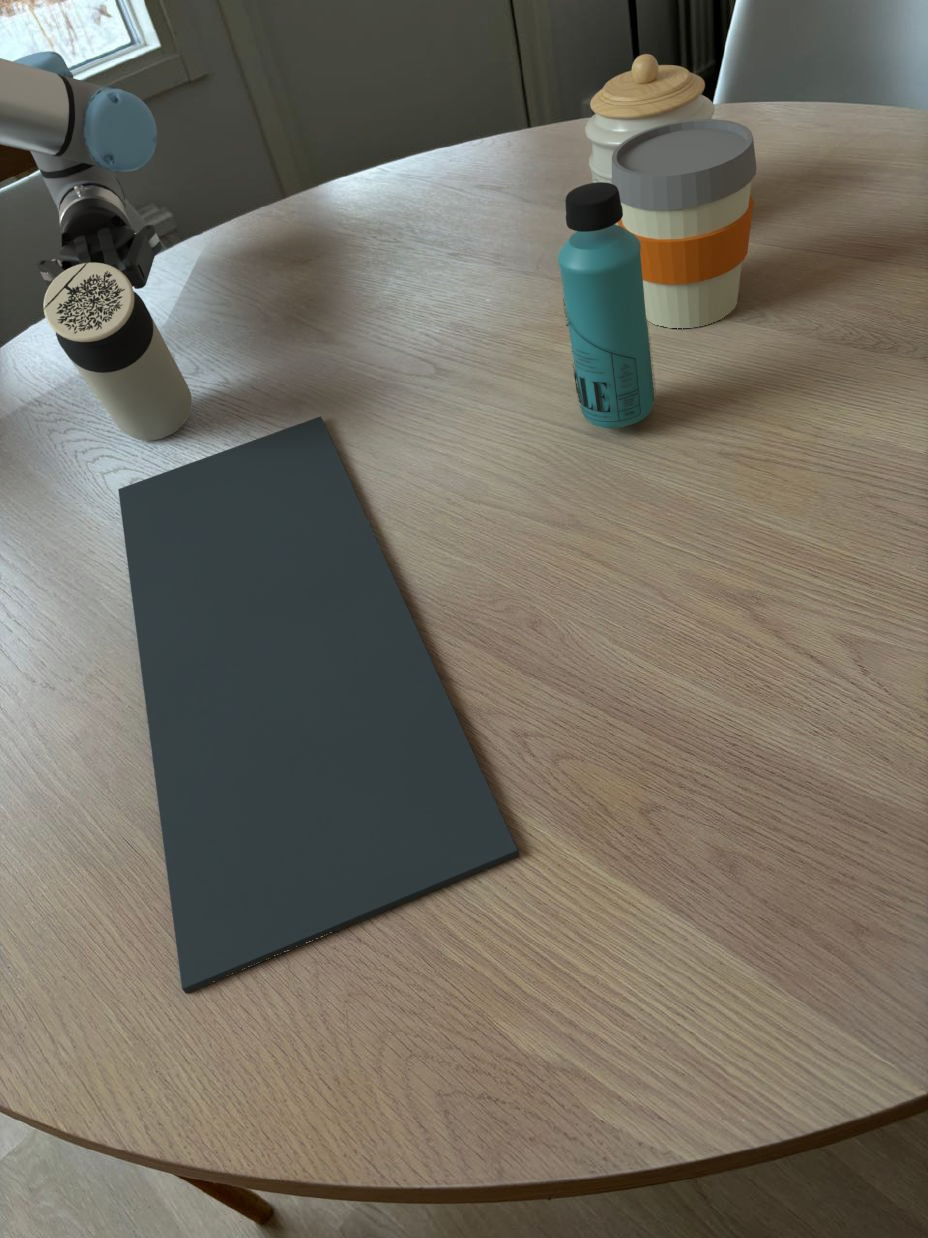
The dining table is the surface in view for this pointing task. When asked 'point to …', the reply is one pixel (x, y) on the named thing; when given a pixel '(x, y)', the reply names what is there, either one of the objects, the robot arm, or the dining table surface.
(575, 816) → the dining table surface
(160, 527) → the mat
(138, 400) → the travel mug
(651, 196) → the reusable coffee cup
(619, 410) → the beverage bottle
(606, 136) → the jar
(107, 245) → the robot arm
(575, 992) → the dining table surface
